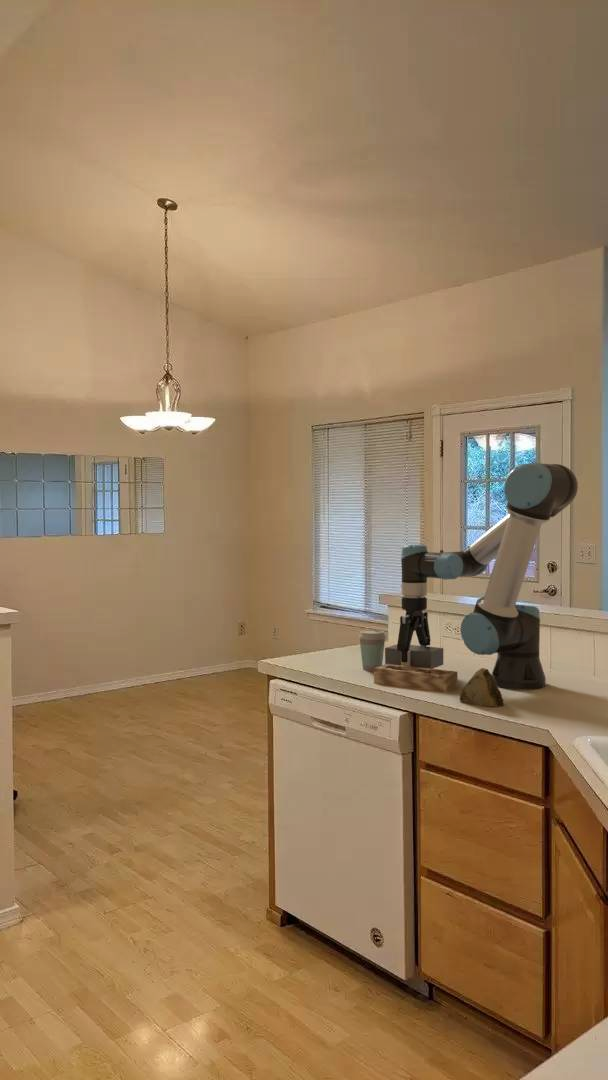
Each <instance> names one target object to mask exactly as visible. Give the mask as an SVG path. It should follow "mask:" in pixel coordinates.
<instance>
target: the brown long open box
mask: <svg viewBox="0 0 608 1080" xmlns="http://www.w3.org/2000/svg"><path fill="white" fill-rule="evenodd" d="M373 683H374V684H380V685H386V686H397V687H401V688H412V689H418V690H419V689H420V690H425V691H427V690H428V691H433V692H434V691H435V692H443V693H447V692H449V691H452V690H454V689H456V688H458V671H457V670H456V671H454V670H445V669H436V668H433V669H429V668H420V667H411V666H402V665H393V664H385V663H384V664H382V666H379V667H376V668H374V671H373Z"/></svg>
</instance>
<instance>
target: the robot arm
mask: <svg viewBox="0 0 608 1080" xmlns="http://www.w3.org/2000/svg"><path fill="white" fill-rule="evenodd" d="M578 487H579V484H578V478H577V477H576V475H575V473H574V472H573V470H571V469H570V468H568V466H565V465H562V464H555V463H551V464H550V463H541V462H540V463H539V462H528V463H522V464H519V465H518V466H516V467H514V468H513V469H512V470H511V471H510V472H509V473H508V474H507V476H506V479H505V481H504V485H503V491H504V495H505V499H506V501H507V502H506V504H505V505H506V506H505V509H506V510H507V512H508V514H506V515H505V516H504V517H502V518H501V519H499V521H498V522H497V523H495V524H494V525H493V526H492V527H490V528H489V529H488V530H487V531H485V532H484V533H483V534H482V535H481V536H480V537H478V538H477V539H476V540H475V541H473V542H472V543H471V544H470V545H468V547H466V548H465V549H464V550H463V549H462V551H461V550H460V551H447V552H430V551H429V552H428V546H427V545H425V544H406V545H403V546H402V548H401V559H400V561H401V585H400V587H401V595H402V597H401V609H402V610H405V615H404V616H403V615H401V616H400V618H399V628H398V629H399V631H398V636H397V637H398V638H397V650H398V651H401V665H402V666H410V651H409V648H410V645H412V640H413V634H414V632H415V633H416V637H417V641H418V644H417V646H427V647H431V641H432V640H431V634H430V626H429V619H428V617H429V616H428V615H429V612H427V611H425V610H427V609H428V598H427V597H426V596H427V595H428V578H431V579H440V580H441V579H442V580H444V581H447V580H455V579H458V578H460V577H463V578H464V577H476V576H478V575H482V574H483V573H485V571H486V570H487V568H488V565H489V563H491V562H492V561H493V560H494V559H495V561H494V562H493V563H494V564H493V567H492V570H491V574H490V575H489V580H488V583H487V585H486V589H485V592H484V596H481V597H480V598H478V599H477V600H476V602H475V605H474V608H473V611H472V612H470V613H469V614H466V616H464V617H463V619H462V621H461V624H460V635H461V639H462V640H463V643H464V645H465V646H466V648H467V649H468V650H469V651H470V652H472V653H473V654H476V655H480V656H481V655H482V656H485V655H486V656H491V655H494V654H497V657H496V660H495V663H494V667H493V669H492V672H491V675H492V677H493V679H494V680H495V683H496V684H497V687H498V688H504V689H510V690H536V689H542V688H545V687H546V683H547V680H546V674H545V672H544V669H543V665H542V663H541V660H540V630H541V629H540V627H541V626H540V625H541V624H540V623H541V618H540V610H539V608H538V607H537V606H534V605H527V604H526V605H524V604H517V601H518V598H519V596H520V595H519V594H520V592H521V588H522V585H523V583H524V579H525V576H526V573H527V570H528V568H529V564H530V561H531V558H532V555H533V553H534V549H535V545H536V542H537V540H538V537H539V534H540V530H541V527H542V525H543V524H545V523H547V522H549V521H550V519H551V518H554V517H555V516H557V515H558V514H560V513H561V512H562V511H563V510H564V509H566V508H567V507H568V506H569V505H570V504H571V503H572V502H573V501H574V500H575V498H576V497H577V494H578Z"/></svg>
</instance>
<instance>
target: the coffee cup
mask: <svg viewBox="0 0 608 1080" xmlns="http://www.w3.org/2000/svg"><path fill="white" fill-rule="evenodd" d="M359 632H360V633H359V635H358V639H359V646H360V655H361V663H362V669H363V670H364V671H368V672H374V668H376V667H379V666H382V665H383V661H384V654H385V642H386V639H387V636H386V633H385V631H383V630H380V629H379V630H376V629H366V630H361V631H359Z"/></svg>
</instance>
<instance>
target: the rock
mask: <svg viewBox="0 0 608 1080" xmlns="http://www.w3.org/2000/svg"><path fill="white" fill-rule="evenodd" d="M459 702H462V703H466V704H469V705H476V706H484V707H489V708H490V707H493V708H494V707H496V706H497V707H498V706H499V707H504V706H503V705H505V706H506V704H505V702H504V698H503V694H502V693H501V691H500V689H499V687H498V686H497V684H496V683H495V680H494V679H493V677H492V673H490V670H489V669H488V668H483V667H482V668H479V669H478V670H477V671H475V672H474V674H473V676H472V677H471V678H470V679H469V680H468V682H467V683H466V684H465V685H464V686H463V688H462V690H461V693H460V695H459Z"/></svg>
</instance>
